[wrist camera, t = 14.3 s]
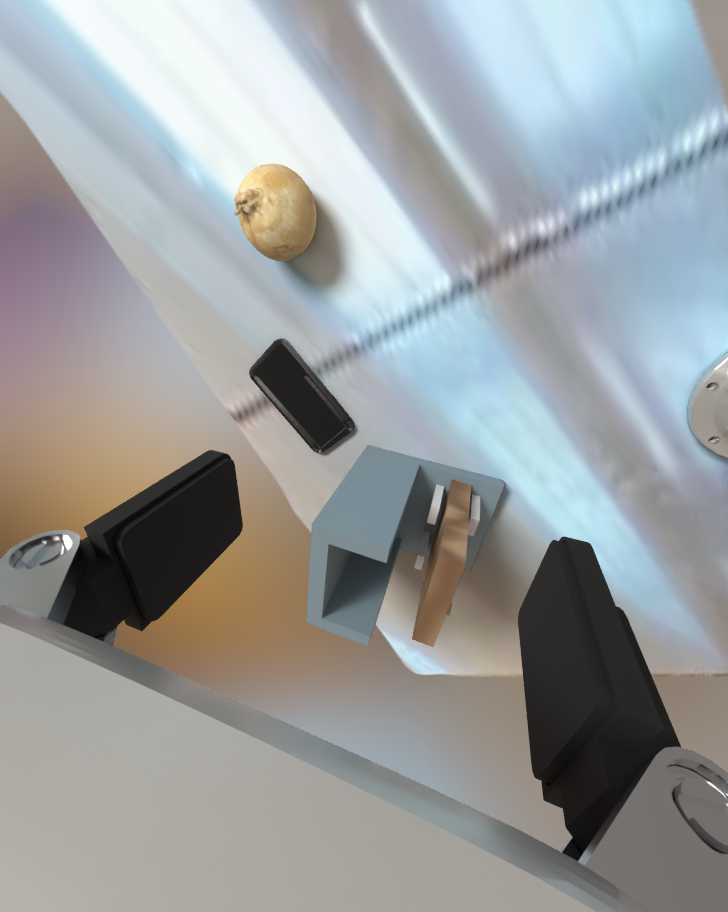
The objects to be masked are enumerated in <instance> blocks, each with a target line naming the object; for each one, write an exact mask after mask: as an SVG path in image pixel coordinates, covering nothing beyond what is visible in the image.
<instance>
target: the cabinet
mask: <svg viewBox="0 0 728 912" xmlns="http://www.w3.org/2000/svg"><path fill="white" fill-rule="evenodd" d="M452 480H456V481H460V482H464V483H467V484H471V494H470V509H469V523H468V537H467V551H466V565H465V567H464V570H467V571H470V570H471V567H472V565H473V562H474V560H475V557H476V555H477V552H478V550H479V547H480V545H481V542H482V540H483V538H484V535H485V533H486V530H487V528H488V525H489V523H490V520H491V518H492V515H493V513H494V510H495V508H496V505H497V503H498V500H499V498H500V495H501V493H502V490H503V488H504V481H503V480H500V479H496V478H492V477H488V476H484V475H481V474H477V473H473V472H469V471H465V470H461V469H457V468H454V467H450V466H446V465H442V464H438V463H434V462H431V461H427V460H423V459H419V458H415V457H411V456H407V455H404V454H400V453H396V452H392V451H388V450H384V449H381V448H377V447H373V446H369V445H368V446H367V447H366V449H365V450H364V451H363V453H362V454H361V456H360V457H359V458H358V460H357V461H356V463H355V464H354V465H353V467H352V468H351V470H350V471H349V472H348V474H347V475H346V477H345V478H344V479H343V481H342V482H341V484H340V485H339V486H338V488H337V489H336V491H335V492H334V493H333V495H332V496H331V498H330V499H329V501H328V502H327V503H326V505H325V506H324V508H323V509H322V510H321V512H320V513H319V515H318V516H317V517H316V519H315V520H314V522H313V523H312V532H311V551H310V568H309V586H308V604H307V623H309V624H312V625H314V626H317V627H319V628H322V629H324V630H327V631H329V632H332V633H335V634H337V635H340V636H342V637H345V638H347V639H350V640H352V641H355V642H357V643H360V644H363V645H365V646H368V645H369V642H370V639H371V636H372V633H373V630H374V627H375V624H376V621H377V617H378V614H379V611H380V608H381V605H382V602H383V599H384V596H385V592H386V589H387V586H388V583H389V580H390V577H391V574H392V571H393V567H394V564H395V561H396V558H397V555H398V552H399V549H402V550H405V551H408V552H412V553H415V554H417V558H416V562H415V566H414V568H415V569H418V570H422V566H423V563H424V560H425V557H427V558H429V554H430V550H431V547H432V543H433V540H434V537H435V534H436V530H437V527H438V524H439V521H440V517H441V514H442V511H443V507H444V504H445V501H446V498H447V494H448V491H449V488H450V485H451V481H452Z"/></svg>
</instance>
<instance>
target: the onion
mask: <svg viewBox="0 0 728 912" xmlns="http://www.w3.org/2000/svg"><path fill="white" fill-rule="evenodd" d="M235 204H236V209H237V210H238V211H236V213H233V214H234V216H235V215H236V216H237V215H239V220H240V224H241V226H242V229H243V231H244V233H245V235H246V237H247V239H248V240H249V241H250V242H251V244H252V245H253V246H254V247H255V248H256V249H257V250H258V251H259V252H260V253H262V254H263V255H264V256H266V257H268V258H270V259H272V260H276V261H287V260H290V259H293V258H295V257H297V256H298V255H300V254H301V253H302V252H303V251H305V249H306V248H307V247H308V245H309V244H310V242H311V240H312V238H313V236H314V233H315V229H316V220H317V214H316V205H315V201H314V198H313V195H312V193H311V191H310V189H309V188H308V186H307V185H306V183H305V182H304V181H303V179H302V178H301V177H300V176H299V175H298V174H297V173H295V172H294V171H293V170H291V169H289V168H287V167H285V166H283V165H279V164H267V165H261V166H259V167H256V168H255V169H253V170H252V171H251V172H250V173H249V174H248V175H247V176H246V177H245V178H244V180H243V181H242V183H241V184H240V186H239V189H238V193H237V194H236V197H235ZM275 233H276V234H275Z"/></svg>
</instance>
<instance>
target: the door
mask: <svg viewBox="0 0 728 912" xmlns="http://www.w3.org/2000/svg"><path fill="white" fill-rule="evenodd" d="M470 494H471V484H467V483H464V482H460V481H456V480H452V481H451V485H450V488H449V491H448V494H447V498H446V501H445V504H444V507H443V511H442V514H441V517H440V521H439V524H438V527H437V530H436V534H435V537H434V540H433V543H432V547H431V550H430V554H429V558H428V563H427V568H426V573H425V578H424V583H423V588H422V593H421V597H420V602H419V607H418V612H417V617H416V622H415V627H414V631H413V636H412V639H413V640H416V641H418V642H421V643H424V644H426V645H429V646H431V647H434V644H435V641H436V639H437V636H438V634H439V631H440V629H441V626H442V624H443V621H444V618H445V616H446V614H448V615H449V614H450V611H451V606H452V602H451V600H452V598H453V595H454V593H455V590H456V588H457V585H458V583H459V580H460V577H461V575H462V572H463V570H464V567H465V565H466V551H467V537H468V523H469V509H470Z"/></svg>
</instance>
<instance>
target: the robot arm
mask: <svg viewBox="0 0 728 912" xmlns="http://www.w3.org/2000/svg"><path fill="white" fill-rule="evenodd" d="M709 383H710V385H709V386H707V385H708V384H709ZM687 412H688V422H689V425H690V428H691V431H692V432H693V434H694V435H695V436H696V438H697V439H698V440H699V441H700V442H701V443H702V444H703V445H705V446H706V447H707V448H709V449H710V450H712V451H713V452H715V453H716V454H718V455H721V456H723V457H726V458H728V352H727V353H726V354H724V355H723V356H722V357H720V358H719V359H718V360H717V361H715V362H714V363H713V364H712V365H711V366H710V367H709V368H708V370H707V371H706V372H705V373H704V374H703V375H702V377H701V378H700V380H699V381H698V382H697V384H696V385H695V387H694V390H693V392H692V394H691V396H690V399H689V404H688V409H687ZM242 527H243V523H242V516H241V509H240V501H239V493H238V487H237V479H236V471H235V465H234V462H233V460H231V457H230V456H229V455H228V454H225V453H221V452H217V451H213V450H209V451H207V452H205V453H204V454H202V455H200V456H199V457H197V458H196V459H194V460H192V461H191V462H189V463H187V464H186V465H184V466H182V467H181V468H180V469H178V470H176V471H174V472H173V473H171V474H169V475H168V476H166V477H165V478H163V479H161V480H160V481H158V482H157V483H155V484H153V485H152V486H150V487H148V488H147V489H145V490H144V491H142V492H140V493H139V494H137V495H135V496H134V497H132V498H131V499H129V500H127V501H126V502H124V503H122V504H121V505H119V506H118V507H116V508H114V509H113V510H111V511H110V512H108V513H106V514H105V515H103V516H101V517H100V518H98V519H97V520H95V521H93V522H92V523H90V524H89V525H87V526H85V527H84V529H85V531H86V533H87V536H88V537H86V538H85V539H83V540H82V541H81V539H80V537H79V535H78V534H77V533H75V532H73V531H68V530H57V531H50V532H46V533H42V534H39V535H36V536H33V537H31V538H28V539H27V540H25V541H23V542H21V543H19V544H17V545H16V546H14V547H13V548H12V549H10V550H9V551H8V552H7V553H6V554H5V555H4V556H3V557H2V558H1V560H0V912H728V773H727V772H726V771H724V770H723V769H722V768H720V767H719V766H718V765H716V764H715V763H714V762H712V761H711V760H709V759H707V758H705V757H704V756H702V755H700V754H698V753H696V752H694V751H691V750H688V749H684V748H681V746H680V743H679V741H678V738H677V736H676V734H675V731H674V729H673V726H672V724H671V722H670V720H669V717H668V714H667V712H666V710H665V707H664V705H663V702H662V700H661V698H660V695H659V693H658V690H657V688H656V686H655V683H654V681H653V679H652V676H651V674H650V671H649V669H648V666H647V664H646V662H645V659H644V657H643V654H642V652H641V650H640V647H639V645H638V643H637V640H636V638H635V635H634V633H633V631H632V628H631V626H630V623H629V621H628V619H627V617H626V615H625V613H624V611H623V610H622V609H620V608H619V607H616V606H615V603H614V601H613V598H612V596H611V593H610V591H609V588H608V586H607V583H606V581H605V578H604V576H603V573H602V570H601V568H600V565H599V563H598V560H597V558H596V555H595V553H594V550H593V548H592V546H591V544H590V543H588V542H584V541H580V540H576V539H572V538H568V537H562V538H561V539H560V540H559V541H556V540H553V541H552V542H551V543H550V545H549V547H548V549H547V552H546V554H545V556H544V558H543V560H542V562H541V565H540V567H539V569H538V571H537V573H536V575H535V578H534V580H533V582H532V584H531V586H530V588H529V590H528V593H527V595H526V597H525V599H524V601H523V603H522V606H521V608H520V611H519V616H518V625H519V636H520V647H521V657H522V668H523V679H524V689H525V699H526V710H527V720H528V732H529V742H530V753H531V763H532V771H533V774H534V776H535V778H536V779H539V780H541V781H542V790H543V799H544V801H546V802H549V803H551V804H554V805H556V806H558V807H561V808H563V812H564V819H565V826H566V828H567V830H568V831H569V833H570V835H569V837H568V838H567V839H566V841H565V842H564V843H563V845H562V846H561V848H560V849H559V850H556V849H554V848H552V847H550V846H548V845H546V844H545V843H543V842H541V841H539V840H537V839H535V838H533V837H531V836H529V835H528V834H526V833H524V832H522V831H520V830H518V829H515V828H514V827H512V826H510V825H508V824H505V823H503V822H501V821H499V820H497V819H495V818H493V817H490V816H489V815H486V814H484V813H482V812H480V811H478V810H476V809H474V808H472V807H470V806H467V805H465V804H463V803H461V802H458V801H457V800H455V799H453V798H451V797H448V796H446V795H444V794H442V793H440V792H438V791H436V790H434V789H431V788H429V787H427V786H425V785H423V784H421V783H418V782H416V781H414V780H412V779H410V778H407V777H405V776H403V775H400V774H399V773H396V772H394V771H392V770H390V769H387V768H385V767H383V766H381V765H379V764H376V763H374V762H372V761H370V760H368V759H365V758H363V757H361V756H359V755H357V754H354V753H352V752H350V751H348V750H345V749H343V748H341V747H339V746H337V745H334V744H332V743H330V742H328V741H326V740H323V739H321V738H319V737H317V736H314V735H312V734H310V733H308V732H305V731H303V730H301V729H299V728H297V727H294V726H292V725H290V724H288V723H285V722H283V721H281V720H279V719H277V718H274V717H272V716H270V715H268V714H265V713H263V712H261V711H259V710H256V709H254V708H252V707H250V706H247V705H245V704H243V703H241V702H238V701H236V700H234V699H232V698H229V697H227V696H225V695H223V694H220V693H218V692H216V691H214V690H211V689H209V688H207V687H205V686H202V685H200V684H198V683H196V682H193V681H191V680H189V679H187V678H184V677H182V676H180V675H178V674H175V673H173V672H171V671H169V670H166V669H164V668H162V667H160V666H157V665H155V664H153V663H150V662H148V661H146V660H143V659H141V658H139V657H137V656H134V655H132V654H130V653H128V652H125V651H123V650H121V649H118V648H116V647H114V646H113V643H114V639H115V635H116V630H117V626H118V625H119V624H120V623H121V622H122V621H123V620H125V623H126V625H128V626H131V627H133V628H136V629H138V630H140V631H143V630H144V629H145V628H146V626H148V625H149V624H150V623H151V621H155V620H157V619H159V618H160V617H161V616H162V615H163V614H164V613H165V612H166V611H167V610H168V609H169V608H170V606H171V605H173V604H174V602H175V601H176V600H177V599H178V598H179V597H180V596H181V595H182V594H183V593H184V592H185V591H186V590H187V589H188V588H189V587H190V586H191V585H192V584H193V583H194V582H195V581H196V580H197V578H199V577H200V575H201V574H202V573H203V572H204V571H205V570H206V569H207V568H208V567H209V566H210V565H211V564H212V563H213V562H214V561H215V560H216V559H217V558H218V557H219V556H220V555H221V554H222V553H223V552H224V551H225V550H226V549H227V548H228V546H229V545H230V544H231V543H232V542H233V541H234V540H235V539H236V538H237V537H238V536H239V535H240V533H241V531H242Z"/></svg>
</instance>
